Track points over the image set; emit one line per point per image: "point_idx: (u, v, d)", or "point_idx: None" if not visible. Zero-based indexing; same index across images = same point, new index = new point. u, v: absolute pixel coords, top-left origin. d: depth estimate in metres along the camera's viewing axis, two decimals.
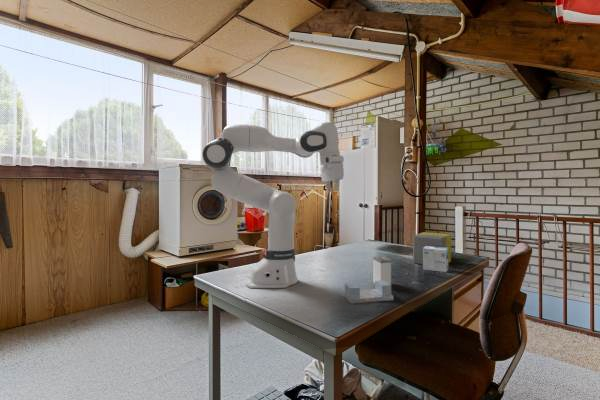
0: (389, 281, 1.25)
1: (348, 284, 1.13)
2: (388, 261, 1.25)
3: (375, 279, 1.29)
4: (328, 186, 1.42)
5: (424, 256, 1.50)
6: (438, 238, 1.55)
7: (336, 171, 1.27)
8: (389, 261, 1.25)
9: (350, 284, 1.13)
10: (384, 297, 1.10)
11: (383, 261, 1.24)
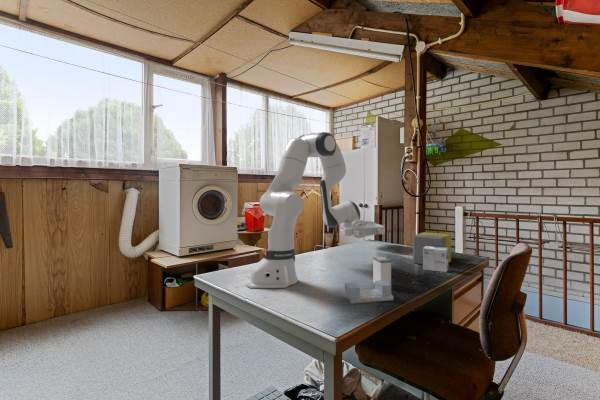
0: (389, 281, 1.25)
1: (348, 284, 1.13)
2: (388, 261, 1.25)
3: (375, 279, 1.29)
4: None
5: (424, 256, 1.50)
6: (438, 238, 1.55)
7: None
8: (389, 261, 1.25)
9: (350, 284, 1.13)
10: (384, 297, 1.10)
11: (383, 261, 1.24)
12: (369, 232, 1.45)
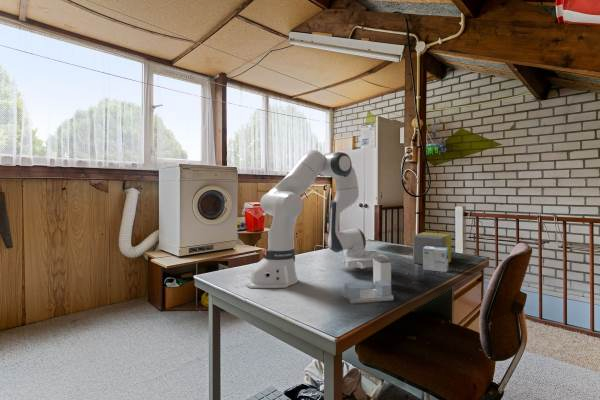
0: (389, 281, 1.25)
1: (348, 284, 1.13)
2: (388, 261, 1.25)
3: (375, 279, 1.29)
4: None
5: (424, 256, 1.51)
6: (438, 238, 1.55)
7: None
8: (389, 261, 1.25)
9: (350, 284, 1.13)
10: (384, 297, 1.10)
11: (383, 261, 1.24)
12: None
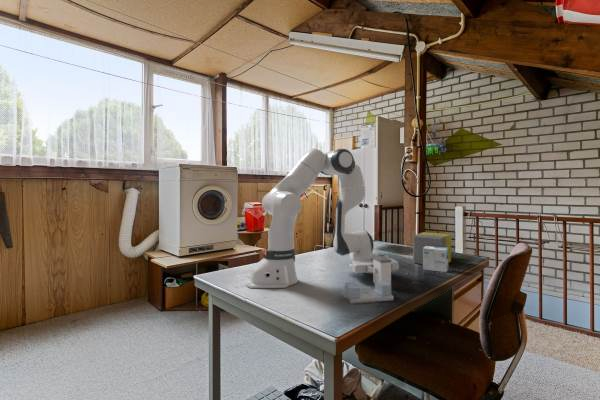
0: (389, 281, 1.25)
1: (348, 284, 1.13)
2: (388, 261, 1.25)
3: (375, 279, 1.29)
4: None
5: (424, 256, 1.50)
6: (438, 238, 1.55)
7: None
8: (389, 261, 1.25)
9: (350, 284, 1.13)
10: (384, 297, 1.10)
11: (383, 261, 1.24)
12: None
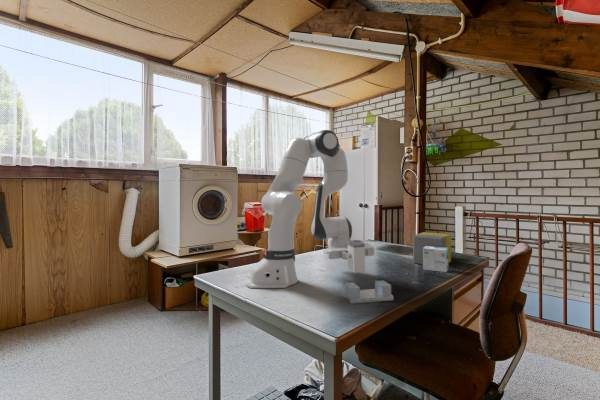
0: (363, 266, 1.22)
1: (348, 284, 1.13)
2: (361, 245, 1.22)
3: (349, 264, 1.26)
4: None
5: (424, 256, 1.50)
6: (438, 238, 1.55)
7: None
8: (362, 245, 1.22)
9: (350, 284, 1.13)
10: (384, 297, 1.10)
11: (356, 246, 1.21)
12: None
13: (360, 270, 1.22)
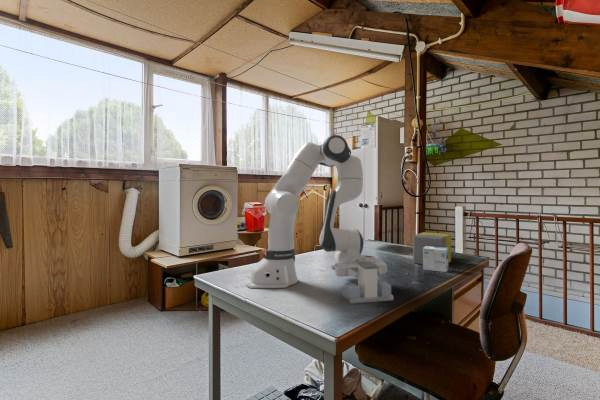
0: (375, 290, 1.10)
1: (348, 284, 1.13)
2: (374, 267, 1.10)
3: (360, 287, 1.14)
4: None
5: (424, 256, 1.51)
6: (438, 238, 1.55)
7: None
8: (375, 267, 1.10)
9: (350, 284, 1.13)
10: (384, 297, 1.10)
11: (368, 267, 1.09)
12: None
13: (371, 294, 1.10)
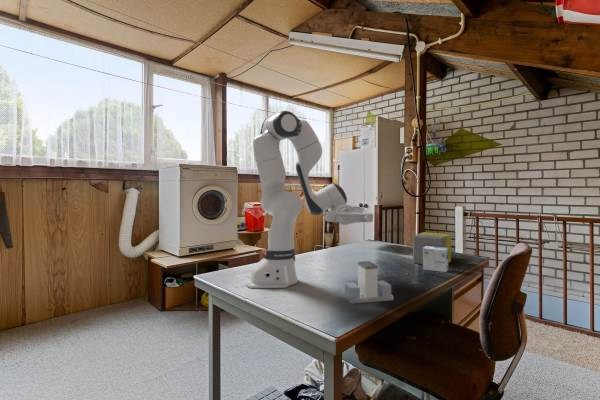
0: (375, 290, 1.10)
1: (348, 284, 1.13)
2: (374, 267, 1.10)
3: (360, 287, 1.14)
4: None
5: (424, 256, 1.51)
6: (438, 238, 1.55)
7: None
8: (375, 267, 1.10)
9: (350, 284, 1.13)
10: (384, 297, 1.10)
11: (368, 267, 1.09)
12: (355, 219, 1.30)
13: (371, 294, 1.10)
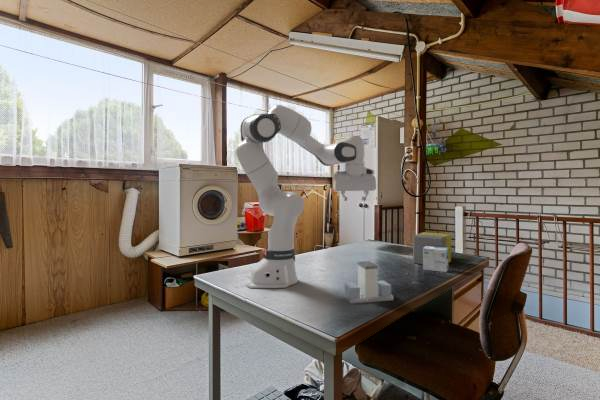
0: (375, 290, 1.10)
1: (348, 284, 1.13)
2: (374, 267, 1.10)
3: (360, 287, 1.14)
4: None
5: (424, 256, 1.51)
6: (438, 238, 1.55)
7: None
8: (375, 267, 1.10)
9: (350, 284, 1.13)
10: (384, 297, 1.10)
11: (368, 267, 1.09)
12: None
13: (371, 294, 1.10)
